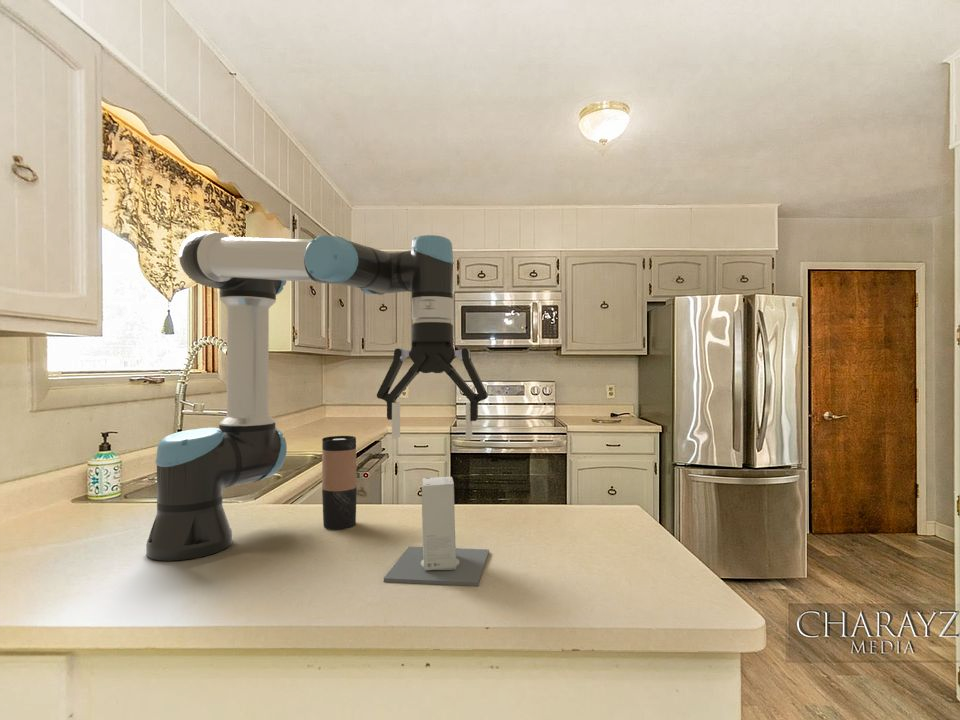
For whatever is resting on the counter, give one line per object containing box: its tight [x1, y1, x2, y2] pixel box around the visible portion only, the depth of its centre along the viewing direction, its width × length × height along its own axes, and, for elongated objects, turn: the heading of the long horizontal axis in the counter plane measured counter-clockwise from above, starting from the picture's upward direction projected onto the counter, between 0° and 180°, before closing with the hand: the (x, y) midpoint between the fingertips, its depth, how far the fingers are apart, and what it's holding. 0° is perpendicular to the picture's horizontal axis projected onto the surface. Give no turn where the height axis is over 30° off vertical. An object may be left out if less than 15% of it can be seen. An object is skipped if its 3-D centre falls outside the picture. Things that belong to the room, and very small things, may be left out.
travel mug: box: [321, 435, 358, 531], centre depth 123 cm, size 8×8×20 cm
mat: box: [383, 546, 490, 587], centre depth 97 cm, size 16×16×1 cm
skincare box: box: [421, 476, 457, 570], centre depth 97 cm, size 8×6×15 cm
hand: (432, 438), depth 98 cm, fingers open, 13 cm apart
